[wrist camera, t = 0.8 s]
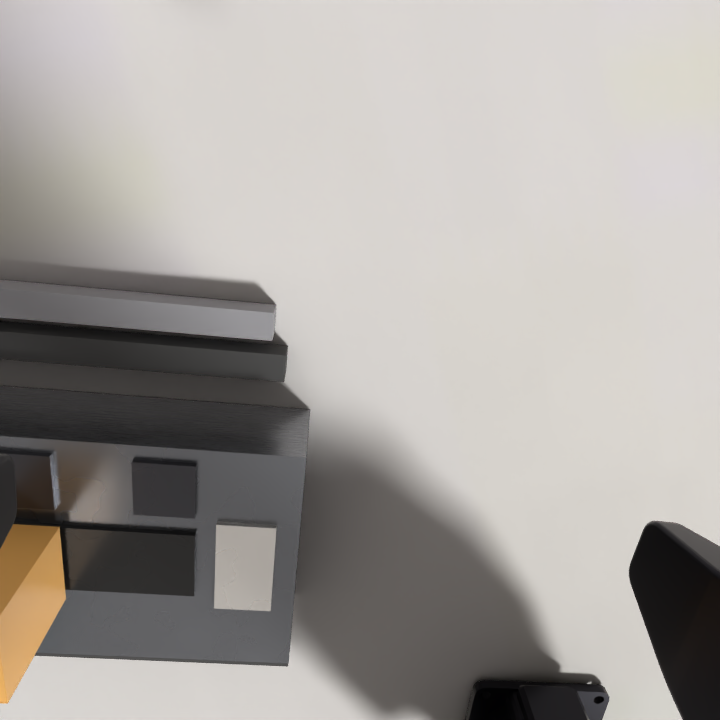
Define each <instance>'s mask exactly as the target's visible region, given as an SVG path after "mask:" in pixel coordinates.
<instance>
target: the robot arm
mask: <svg viewBox="0 0 720 720" xmlns="http://www.w3.org/2000/svg"><path fill="white" fill-rule="evenodd" d="M16 513H17V494H16V479H15V466H14V462H13V459H12V458H11V457H10V456H9V455H8V454H3V453H0V549H1V547H2V545H3V543H4V541H5V539H6V537H7V535H8V533H9V531H10V530H11V528H12V526H13V523H14V521H15V518H16ZM629 578H630V583H631V586H632V589H633V592H634V594H635V597H636V600H637V603H638V606H639V609H640V611H641V614H642V617H643V620H644V623H645V626H646V629H647V631H648V634H649V637H650V640H651V643H652V646H653V648H654V651H655V654H656V657H657V660H658V663H659V665H660V668H661V671H662V673H663V676H664V678H665V681H666V683H667V686H668V688H669V690H670V693H671V695H672V697H673V700H674V702H675V704H676V706H677V708H678V710H679V713H680V715H681V717H682V719H683V720H720V546H718V545H716V544H715V543H713V542H711V541H709V540H707V539H706V538H704V537H702V536H700V535H699V534H697V533H695V532H693V531H691V530H690V529H688V528H686V527H684V526H683V525H680V524H678V523H673V522H663V521H651V522H649V523H648V524H647V525H646V526H645V527H644V529H643V532H642V534H641V537H640V540H639V542H638V545H637V547H636V550H635V553H634V555H633V558H632V560H631V563H630V568H629ZM608 702H609V696H608V694H607V692H606V690H605V688H604V687H603V686H601V685H590V684H566V683H542V682H518V681H494V680H482V681H479V682H477V683H476V684H474V686H473V689H472V693H471V697H470V701H469V706H468V710H467V714H466V718H465V720H602V718H603V716H604V713H605V710H606V707H607V705H608Z"/></svg>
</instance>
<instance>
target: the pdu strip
mask: <svg viewBox="0 0 720 720" xmlns="http://www.w3.org/2000/svg"><path fill="white" fill-rule="evenodd" d="M309 416H310V410H308V409H296V408H283V407H270V406H257V405H244V404H231V403H218V402H205V401H192V400H180V399H167V398H154V397H141V396H128V395H115V394H102V393H89V392H76V391H64V390H51V389H38V388H25V387H12V386H0V453H3V454H8V455H9V456H10V457H11V458H12V459H13V462H14V466H15V479H16V494H17V513H16V518H15V521H14V523H13V524H20V525H37V526H54V527H60V537H61V548H62V560H63V571H64V582H65V593H66V600H65V601H64V603H63V605H62V607H61V609H60V610H59V612H58V614H57V616H56V618H55V619H54V621H53V623H52V625H51V627H50V628H49V630H48V632H47V634H46V636H45V637H44V639H43V641H42V643H41V645H40V646H39V648H38V650H37V652H36V653H58V654H81V655H104V656H128V657H151V658H174V659H197V660H221V661H244V662H267V663H289V651H290V640H291V628H292V617H293V605H294V594H295V583H296V571H297V560H298V548H299V537H300V525H301V514H302V502H303V491H304V480H305V468H306V456H307V443H308V430H309Z"/></svg>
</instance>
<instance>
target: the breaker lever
mask: <svg viewBox="0 0 720 720" xmlns="http://www.w3.org/2000/svg"><path fill="white" fill-rule="evenodd" d="M65 600H66V593H65V582H64V571H63V560H62V548H61V537H60V527H54V526H37V525H20V524H13V526H12V528H11V530H10V531H9V533H8V535H7V537H6V539H5V541H4V543H3V545H2V547H1V549H0V703H7V704H8V702H9V700H10V698H11V697H12V695H13V693H14V691H15V689H16V688H17V686H18V684H19V682H20V681H21V679H22V677H23V675H24V673H25V672H26V670H27V668H28V666H29V664H30V663H31V661H32V659H33V657H34V655H35V654H36V652H37V650H38V648H39V646H40V645H41V643H42V641H43V639H44V637H45V636H46V634H47V632H48V630H49V628H50V627H51V625H52V623H53V621H54V619H55V618H56V616H57V614H58V612H59V610H60V609H61V607H62V605H63V603H64V601H65Z"/></svg>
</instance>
